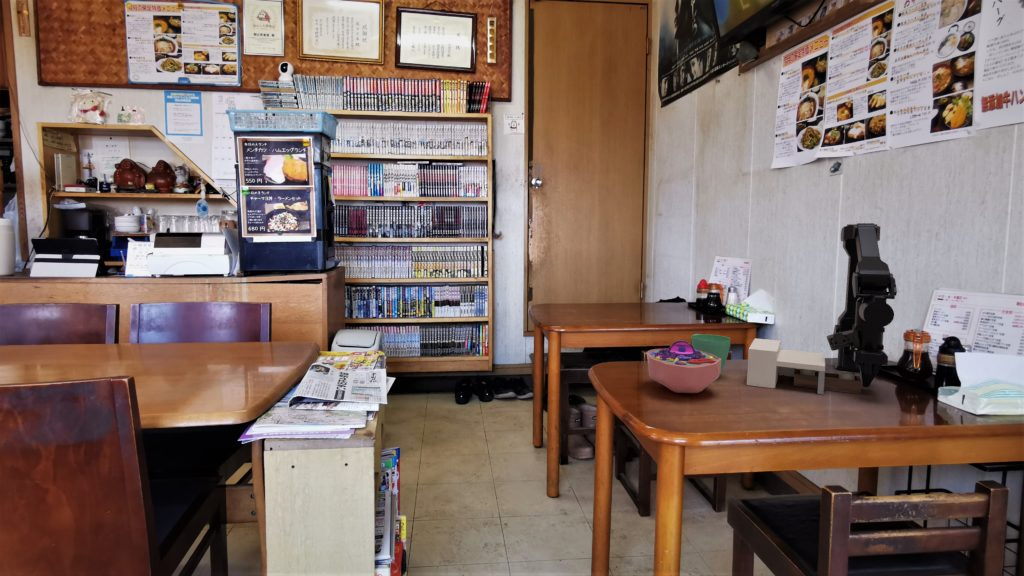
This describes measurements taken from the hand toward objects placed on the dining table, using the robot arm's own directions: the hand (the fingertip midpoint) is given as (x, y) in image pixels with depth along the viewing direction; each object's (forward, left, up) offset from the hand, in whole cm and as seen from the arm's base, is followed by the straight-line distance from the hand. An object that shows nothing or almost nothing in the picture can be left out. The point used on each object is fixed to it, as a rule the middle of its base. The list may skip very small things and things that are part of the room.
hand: (865, 386), depth 133 cm
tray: (0, -8, -1) cm, 8 cm away
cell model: (+21, -38, -1) cm, 44 cm away
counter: (0, -17, -1) cm, 17 cm away
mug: (+1, -36, -1) cm, 36 cm away
